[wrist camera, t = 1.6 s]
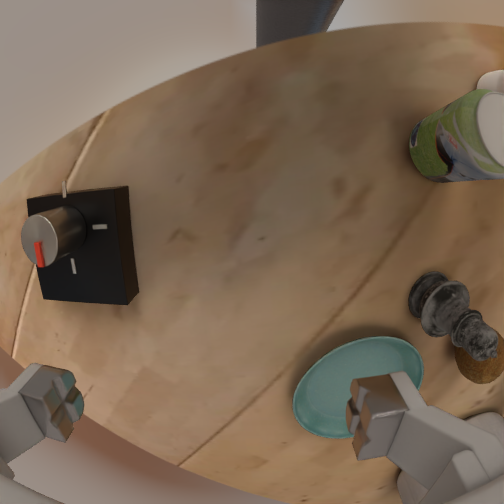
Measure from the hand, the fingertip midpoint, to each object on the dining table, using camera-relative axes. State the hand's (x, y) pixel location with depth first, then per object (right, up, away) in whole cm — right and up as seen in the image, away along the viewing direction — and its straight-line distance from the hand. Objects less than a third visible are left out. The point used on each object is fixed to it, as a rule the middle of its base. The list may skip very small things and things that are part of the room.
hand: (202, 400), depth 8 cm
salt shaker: (+20, 0, +20) cm, 28 cm away
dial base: (-14, +5, +19) cm, 24 cm away
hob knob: (-14, +6, +16) cm, 22 cm away
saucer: (+13, -10, +23) cm, 28 cm away
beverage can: (+17, +14, +16) cm, 28 cm away
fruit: (+27, -6, +22) cm, 35 cm away
